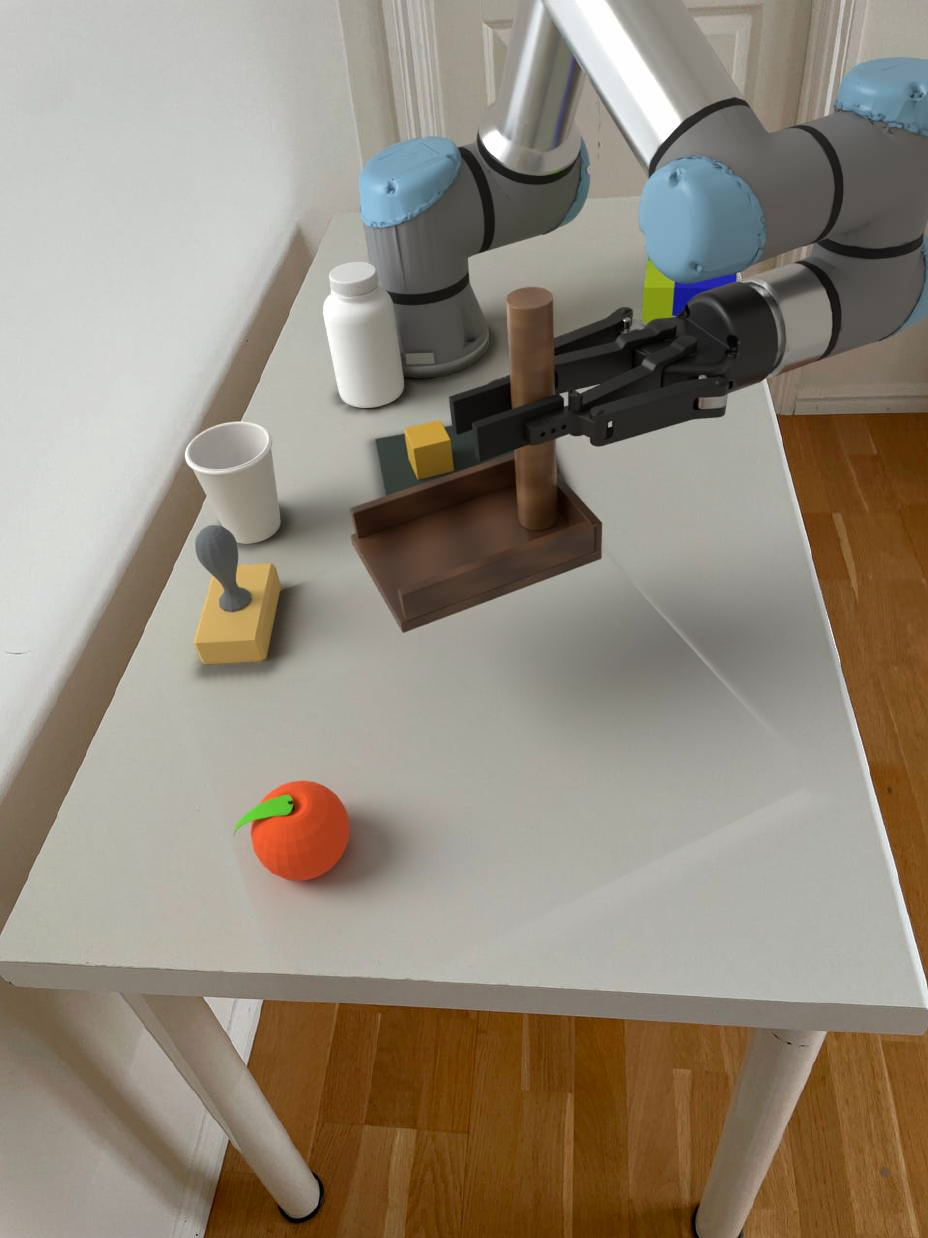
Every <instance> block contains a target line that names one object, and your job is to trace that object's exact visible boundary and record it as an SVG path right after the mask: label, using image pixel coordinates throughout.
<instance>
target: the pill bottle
mask: <svg viewBox="0 0 928 1238" xmlns="http://www.w3.org/2000/svg"><path fill="white" fill-rule="evenodd" d="M328 279H329V280H328V281H329V286H330V294H329V295H328V296H327V297H326V298H325V300H324V303H323V307H322V315H323V320H324V327H325V331H326V335H327V340H328V345H329V350H330V355H331V360H332V365H333V370H334V375H335V380H336V385H337V391H338V393H339V397H340V398H341V400H342V402H344V403H345V404H347V405H348V406H351V407H354V408H359V409H370V408H378V407H382V406H384V405H388V404H390V403H392V402H394V401H396V400H397V399H398V398H400V396H401V395H402V394H403V392H404V389H405V379H404V378H405V377H403V370H402V363H401V356H400V349H399V342H398V335H397V328H396V321H395V314H394V307H393V302H392V299H391V297H390V295H389V294H388V292H387V291H385V290H384V289H383V288H381V287H379V286H378V274H377V269H376V268H375V267H374V266H373V265H372V264H370V262H365V261H351V262H350V261H349V262H346V263H343V264H342V263H341V264H340V265H337V266H335V267H333V268H332V269H331V271H330V272H329V274H328Z"/></svg>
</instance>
